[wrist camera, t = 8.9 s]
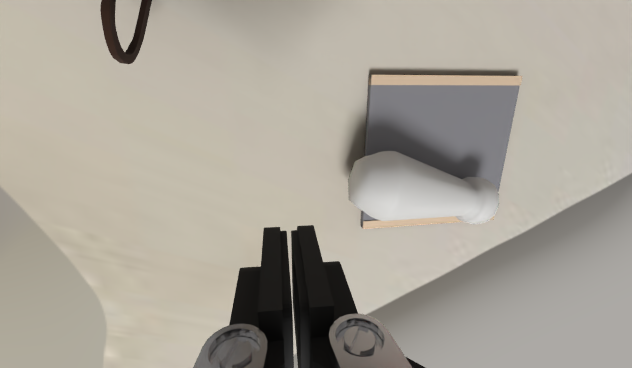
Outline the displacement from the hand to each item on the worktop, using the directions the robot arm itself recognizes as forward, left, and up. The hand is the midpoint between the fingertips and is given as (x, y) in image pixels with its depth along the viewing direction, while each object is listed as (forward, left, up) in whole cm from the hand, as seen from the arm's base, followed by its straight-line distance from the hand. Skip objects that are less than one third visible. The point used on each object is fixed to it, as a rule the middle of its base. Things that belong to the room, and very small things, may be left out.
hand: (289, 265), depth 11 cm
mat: (-15, 0, -17) cm, 23 cm away
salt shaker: (-6, +1, -14) cm, 15 cm away
